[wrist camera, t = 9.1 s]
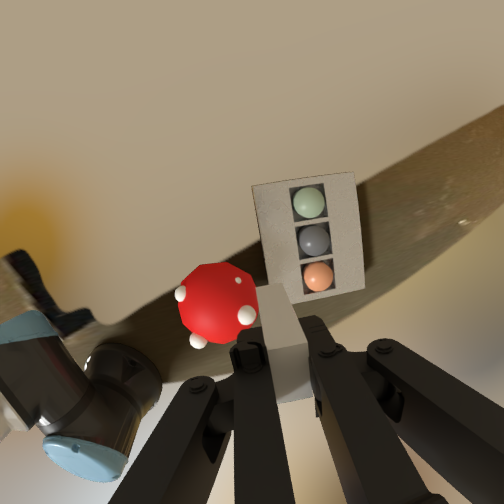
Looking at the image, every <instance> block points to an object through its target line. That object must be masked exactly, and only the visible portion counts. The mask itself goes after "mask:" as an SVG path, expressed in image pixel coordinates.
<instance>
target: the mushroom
mask: <svg viewBox="0 0 504 504" xmlns="http://www.w3.org/2000/svg"><path fill="white" fill-rule="evenodd" d="M255 287H256V286H255V283H254V281H253V279H252V277H251V275H250V274H248V273H246V272H244V271H242V270H241V269H239V268H237V267H235V266H233V265H231V264H230V263H228V262H221V263H212V264H202V265H199V266H198V267H197V268H196V269H195V270H194V271H193V272H191V273H190V274H189V275H188V276H187V277H186V278H185V279H184V280H183V281H182V282H181V286H179V287H178V288H177V289H176V290H175V298H176V300H177V301H178V308H179V312H180V315H181V319H182V323H183V324H184V325H185V326H186V327H187V328H188V329H189V330H190V331H191V332H192V334H191V335H190V344H191V345H192V346H193V347H194V348H198V349H201V348H203V347H205V345H206V344H207V341H209V342H214V343H220V344H225V343H227V342H230V341H233V340H235V339H237V335H238V334H239V332H240V331H241V330H243V329H249V328H250V327H251V326H252V325H253V323H254V322H255V321H256V318H257V315H258V310H259V306H258V300H257V294H256V288H255Z"/></svg>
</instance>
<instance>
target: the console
mask: <svg viewBox="0 0 504 504" xmlns="http://www.w3.org/2000/svg"><path fill="white" fill-rule="evenodd" d="M304 187H309V188H315V189H317V190H318V191H320V192H321V194H322V195H323V197H324V202H325V203H324V208H323V210H322V212H321V213H320V214H319V215H318V216H316V217H313V218H306V217H303V216H301V215H299V214H298V213H297V212H296V211H295V210H294V208H293V206H292V198H293V195H294V193H295V192H296V191H297V190H299V189H300V188H304ZM252 193H253V199H254V204H255V210H256V216H257V222H258V227H259V233H260V239H261V245H262V251H263V257H264V263H265V269H266V275H267V281H268V285H271V284H277V283H282V284H283V286H284V288H285V291H286V293H287V295H288V298H289V300H290V302H291V304H294V303H299V302H304V301H309V300H314V299H319V298H324V297H328V296H333V295H338V294H342V293H347V292H351V291H355V290H360V289H364V288H365V280H364V262H363V248H362V236H361V225H360V216H359V207H358V199H357V191H356V184H355V177H354V172H345V173H337V174H328V175H321V176H313V177H306V178H299V179H292V180H286V181H279V182H273V183H266V184H261V185H255V186H252ZM309 224H314V225H317V226H319V227H321V228H323V229H324V230H325V231H326V232H327V233H328V236H329V246H328V248H327V250H326V251H325V252H324V253H322V254H321V255H318V256H311V255H308V254H306V253H305V252H304V251H303V250H302V249H301V247H300V246H299V244H298V239H297V238H298V233H299V231H300V230H301V229H302V228H303V227H304V226H306V225H309ZM320 260H321V261H323V262H324V263H325V264H326V265H327V266H328V267H330V269H331V270H332V272H333V280H332V283H331V285H330V286H329V287H328V288H327V289H325V290H323V291H313V290H311V289H310V288H309V287H308V286H307V284H306V283H305V281H304V280H303V277H302V272H303V268H304V267H305V265H306V264H307V263H310V262H315V261H320Z"/></svg>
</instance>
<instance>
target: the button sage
mask: <svg viewBox="0 0 504 504" xmlns="http://www.w3.org/2000/svg"><path fill="white" fill-rule="evenodd" d="M324 203H325V202H324V197H323V195H322V194H321V192H320V191H318V190H317V189H315V188H309V187H304V188H300V189H299V190H297V191H296V192H295V193H294V195H293V198H292V206H293V208H294V210H295V211H296V212H297V213H298V214H299V215H301V216H303V217H306V218H313V217H316V216H318V215H319V214H320V213H321V212H322V210H323V208H324Z"/></svg>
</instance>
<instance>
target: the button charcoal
mask: <svg viewBox="0 0 504 504" xmlns="http://www.w3.org/2000/svg"><path fill="white" fill-rule="evenodd" d="M297 239H298V244H299V246H300V247H301V249H302V250H303V251H304V252H305V253H306V254H308V255H311V256H318V255H321V254H322V253H324V252H325V251H326V250H327V248H328V246H329V236H328V233H327V232H326V231H325V230H324V229H323V228H321V227H319V226H317V225H314V224H309V225H306V226H304V227H303V228H302V229H301V230H300V231H299V233H298V238H297Z"/></svg>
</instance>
